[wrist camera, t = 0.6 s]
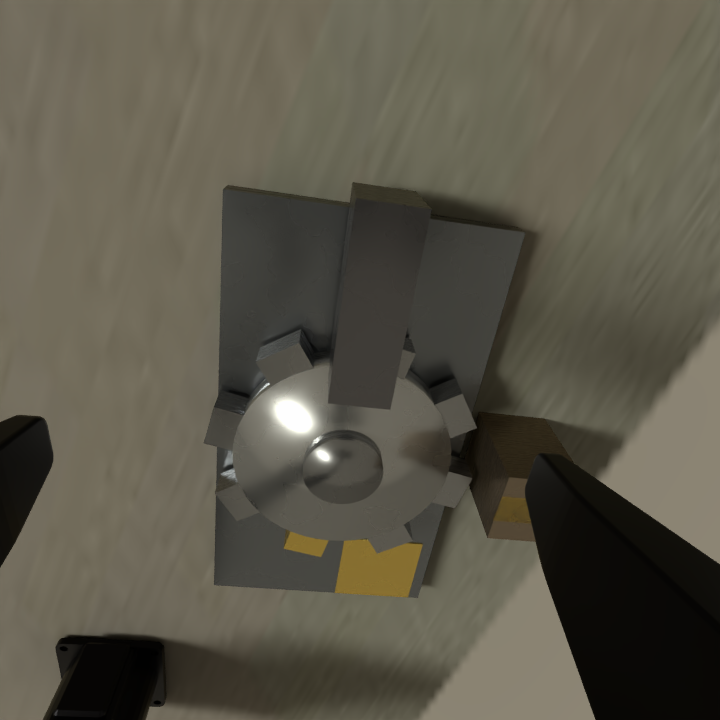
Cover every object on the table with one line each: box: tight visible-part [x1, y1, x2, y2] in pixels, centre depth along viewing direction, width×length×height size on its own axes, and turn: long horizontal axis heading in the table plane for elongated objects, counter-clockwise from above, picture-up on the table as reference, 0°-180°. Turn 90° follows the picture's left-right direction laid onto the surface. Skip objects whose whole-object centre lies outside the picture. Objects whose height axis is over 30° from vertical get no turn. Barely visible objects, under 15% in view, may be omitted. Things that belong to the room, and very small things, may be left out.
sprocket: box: [204, 182, 477, 557], centre depth 21 cm, size 18×12×4 cm
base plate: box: [214, 185, 525, 598], centre depth 25 cm, size 22×12×1 cm, turn 172°
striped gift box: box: [465, 412, 574, 542], centre depth 24 cm, size 4×4×5 cm
